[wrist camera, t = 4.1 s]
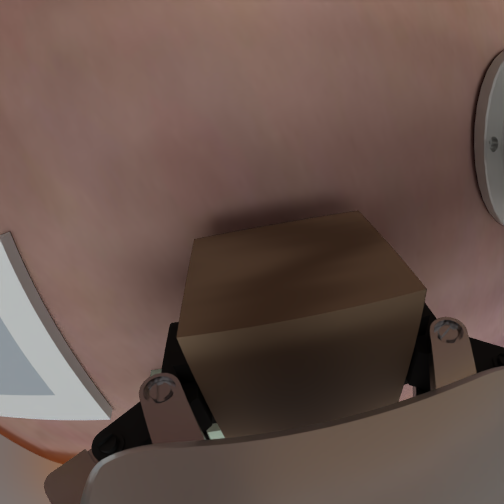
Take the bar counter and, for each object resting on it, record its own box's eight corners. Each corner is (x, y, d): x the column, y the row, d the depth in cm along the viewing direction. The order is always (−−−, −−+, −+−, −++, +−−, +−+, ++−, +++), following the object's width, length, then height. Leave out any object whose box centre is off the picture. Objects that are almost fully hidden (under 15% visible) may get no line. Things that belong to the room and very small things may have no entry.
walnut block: (357, 210, 11) (426, 288, 7) (355, 330, 14) (393, 417, 10) (194, 238, 11) (176, 337, 7) (228, 354, 14) (231, 449, 10)
